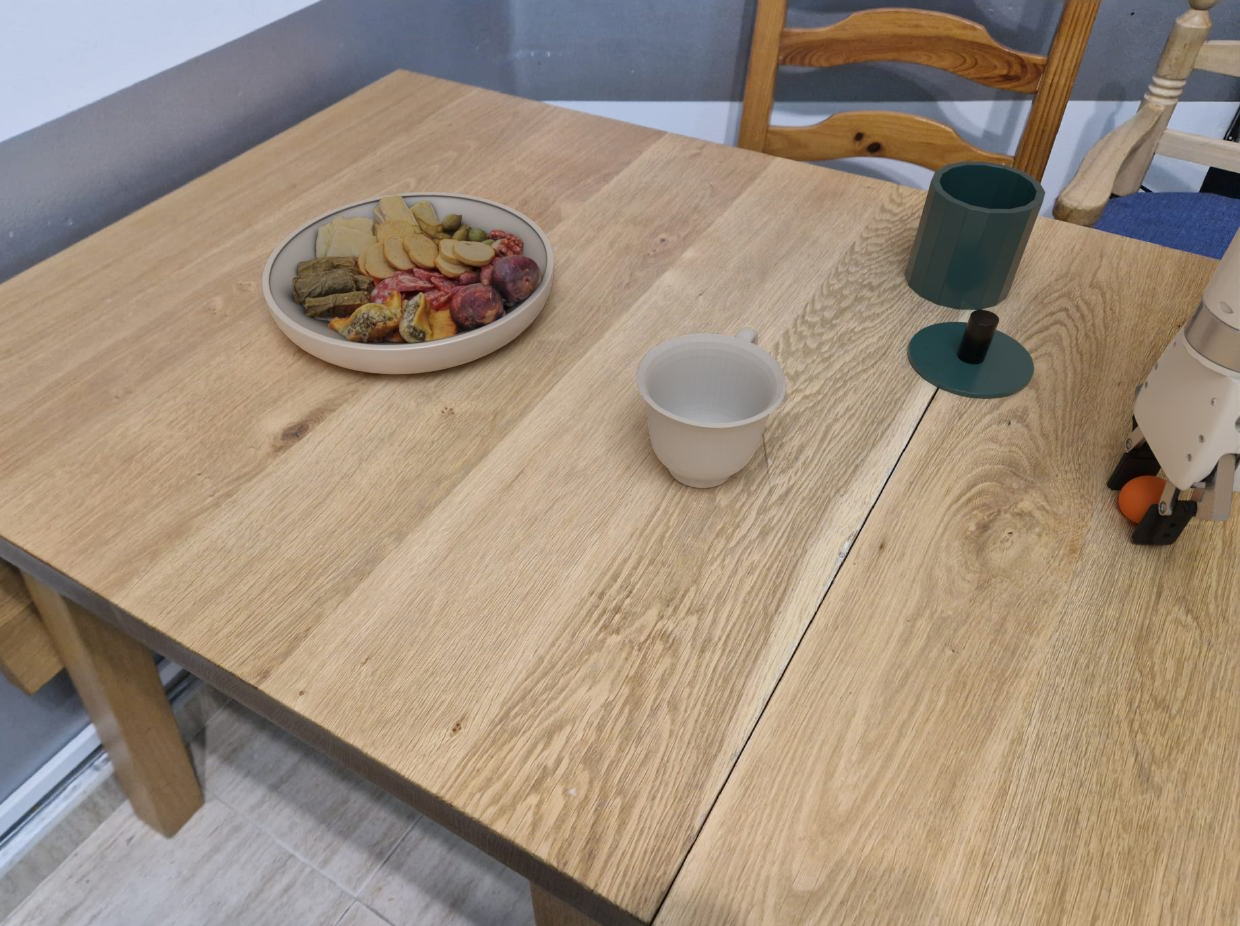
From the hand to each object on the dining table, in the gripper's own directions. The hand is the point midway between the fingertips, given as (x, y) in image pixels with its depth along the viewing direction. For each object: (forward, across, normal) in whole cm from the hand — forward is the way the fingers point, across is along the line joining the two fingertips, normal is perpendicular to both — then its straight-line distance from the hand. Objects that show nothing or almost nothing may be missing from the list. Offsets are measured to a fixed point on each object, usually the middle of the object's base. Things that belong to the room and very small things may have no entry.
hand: (1139, 513), depth 77 cm
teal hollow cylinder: (0, +34, +7) cm, 35 cm away
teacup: (+1, +6, +35) cm, 36 cm away
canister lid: (0, +20, +9) cm, 22 cm away
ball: (-2, 0, 0) cm, 2 cm away
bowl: (+1, +29, +65) cm, 71 cm away
